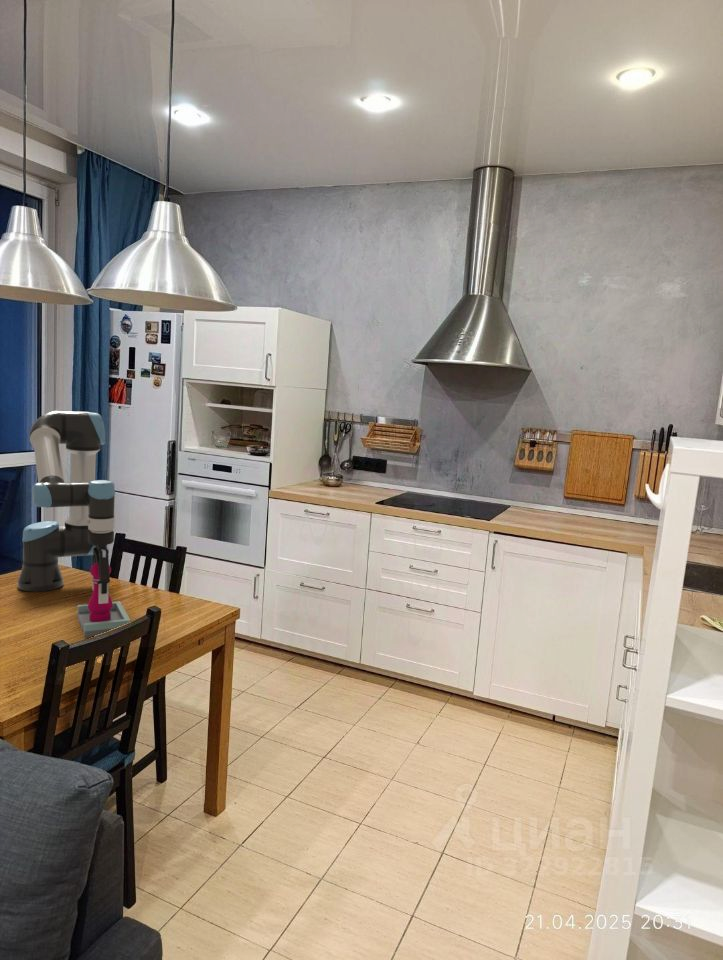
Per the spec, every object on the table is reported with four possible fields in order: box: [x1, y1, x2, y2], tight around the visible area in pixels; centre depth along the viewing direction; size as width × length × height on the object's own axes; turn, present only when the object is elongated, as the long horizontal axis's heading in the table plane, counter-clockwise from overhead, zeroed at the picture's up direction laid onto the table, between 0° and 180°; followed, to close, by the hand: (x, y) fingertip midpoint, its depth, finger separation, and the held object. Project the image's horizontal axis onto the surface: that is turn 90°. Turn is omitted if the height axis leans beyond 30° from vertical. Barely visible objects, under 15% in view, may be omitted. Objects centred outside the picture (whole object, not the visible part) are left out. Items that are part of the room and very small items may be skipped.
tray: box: [77, 600, 131, 639], centre depth 209 cm, size 19×13×4 cm
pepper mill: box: [87, 563, 113, 622], centre depth 207 cm, size 7×7×20 cm
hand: (100, 596), depth 207 cm, fingers open, 13 cm apart
